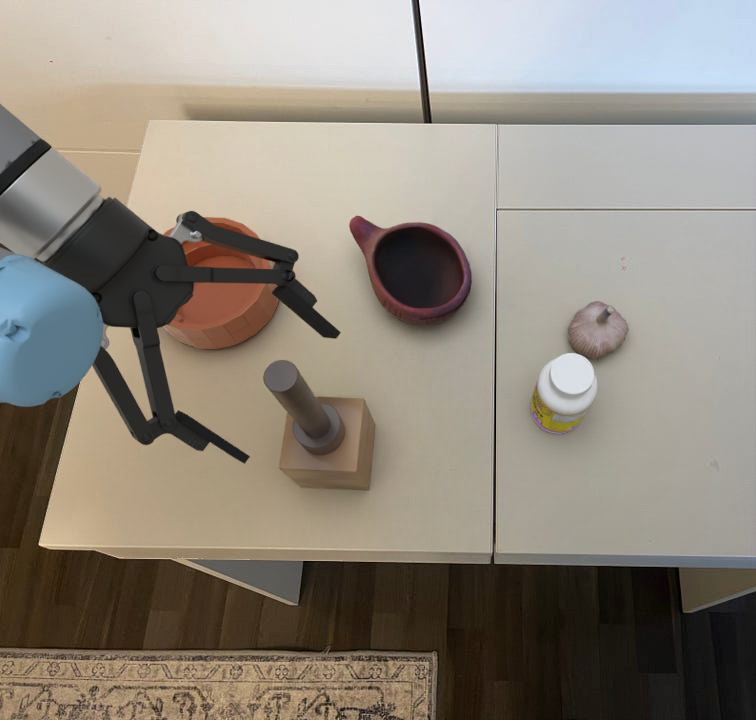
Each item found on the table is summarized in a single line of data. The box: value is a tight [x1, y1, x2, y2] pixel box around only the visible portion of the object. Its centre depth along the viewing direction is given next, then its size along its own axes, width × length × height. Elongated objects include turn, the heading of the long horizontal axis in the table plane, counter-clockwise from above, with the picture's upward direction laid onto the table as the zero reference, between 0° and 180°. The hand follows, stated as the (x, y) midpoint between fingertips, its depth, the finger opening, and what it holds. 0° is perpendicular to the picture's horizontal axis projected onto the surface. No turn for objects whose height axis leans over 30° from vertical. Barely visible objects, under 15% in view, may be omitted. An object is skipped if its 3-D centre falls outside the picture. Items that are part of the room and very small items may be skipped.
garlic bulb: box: [567, 301, 629, 360], centre depth 81 cm, size 8×7×8 cm
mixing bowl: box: [162, 216, 280, 350], centre depth 83 cm, size 16×16×6 cm
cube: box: [278, 395, 376, 491], centre depth 74 cm, size 8×8×10 cm
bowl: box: [348, 215, 473, 326], centre depth 83 cm, size 16×13×8 cm
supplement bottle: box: [530, 352, 598, 435], centre depth 75 cm, size 7×7×13 cm
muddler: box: [262, 359, 345, 455], centre depth 61 cm, size 5×5×17 cm
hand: (289, 394), depth 60 cm, fingers open, 13 cm apart
